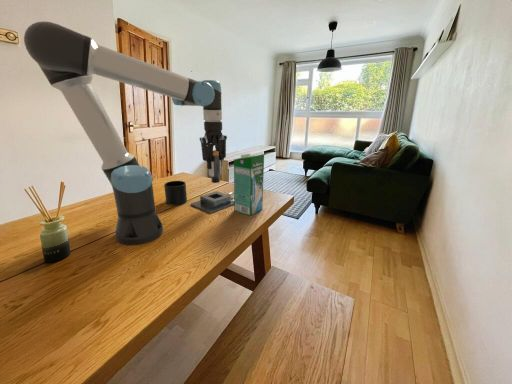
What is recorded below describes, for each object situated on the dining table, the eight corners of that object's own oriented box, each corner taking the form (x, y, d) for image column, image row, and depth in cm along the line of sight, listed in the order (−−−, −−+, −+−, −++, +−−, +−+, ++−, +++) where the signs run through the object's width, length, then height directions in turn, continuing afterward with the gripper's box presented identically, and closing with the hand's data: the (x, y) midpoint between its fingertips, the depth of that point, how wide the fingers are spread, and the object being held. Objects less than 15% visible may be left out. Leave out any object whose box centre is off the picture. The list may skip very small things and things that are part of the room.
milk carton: (246, 204, 115) (247, 151, 107) (262, 209, 110) (264, 153, 102) (234, 210, 108) (233, 153, 100) (250, 215, 103) (251, 156, 95)
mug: (191, 197, 123) (190, 179, 120) (182, 206, 111) (180, 187, 108) (173, 196, 124) (172, 178, 121) (162, 204, 112) (160, 186, 109)
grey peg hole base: (210, 213, 104) (209, 205, 103) (190, 205, 113) (190, 197, 111) (245, 200, 120) (245, 192, 119) (226, 193, 129) (226, 186, 127)
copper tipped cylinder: (209, 181, 111) (208, 150, 107) (216, 180, 114) (214, 149, 109) (215, 183, 109) (213, 152, 104) (221, 181, 112) (220, 150, 107)
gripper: (202, 122, 94) (205, 180, 102) (233, 120, 106) (234, 172, 114) (190, 121, 99) (194, 177, 107) (222, 119, 111) (223, 170, 119)
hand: (215, 174), depth 110 cm, fingers closed on copper tipped cylinder, 4 cm apart
